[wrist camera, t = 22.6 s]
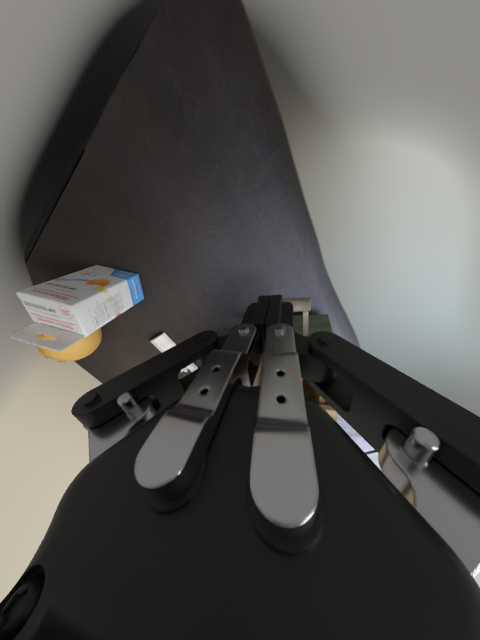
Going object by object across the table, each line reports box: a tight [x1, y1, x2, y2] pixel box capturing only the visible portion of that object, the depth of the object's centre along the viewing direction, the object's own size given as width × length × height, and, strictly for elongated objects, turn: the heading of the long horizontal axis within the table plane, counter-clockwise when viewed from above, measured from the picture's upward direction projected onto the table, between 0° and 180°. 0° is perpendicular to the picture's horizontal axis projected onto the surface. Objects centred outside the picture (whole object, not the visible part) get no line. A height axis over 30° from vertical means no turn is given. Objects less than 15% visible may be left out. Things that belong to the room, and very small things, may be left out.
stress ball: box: [36, 328, 102, 362], centre depth 37 cm, size 10×10×10 cm
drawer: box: [256, 298, 333, 405], centre depth 27 cm, size 20×11×8 cm, turn 10°
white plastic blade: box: [150, 333, 198, 372], centre depth 40 cm, size 5×15×1 cm, turn 35°
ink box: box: [9, 265, 144, 352], centre depth 27 cm, size 8×5×15 cm, turn 84°
